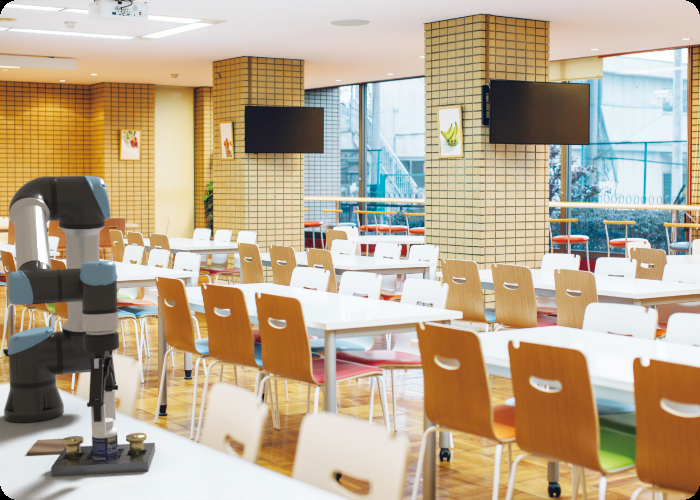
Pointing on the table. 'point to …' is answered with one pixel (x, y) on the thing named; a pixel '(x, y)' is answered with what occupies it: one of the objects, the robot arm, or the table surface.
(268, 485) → the table surface
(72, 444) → the plunger
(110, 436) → the pill bottle
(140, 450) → the plunger
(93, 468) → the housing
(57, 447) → the coaster
